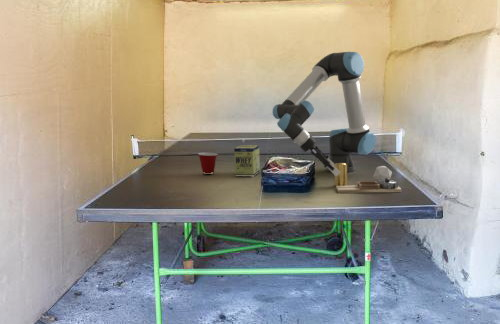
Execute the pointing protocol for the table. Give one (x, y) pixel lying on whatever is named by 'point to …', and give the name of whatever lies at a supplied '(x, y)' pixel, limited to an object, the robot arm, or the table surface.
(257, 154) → the protein box
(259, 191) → the table surface
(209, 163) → the plastic cup
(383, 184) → the gear
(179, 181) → the table surface
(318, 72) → the robot arm
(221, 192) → the table surface
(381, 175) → the pale rock
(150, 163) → the table surface
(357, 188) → the gear board
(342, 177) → the brass gear
